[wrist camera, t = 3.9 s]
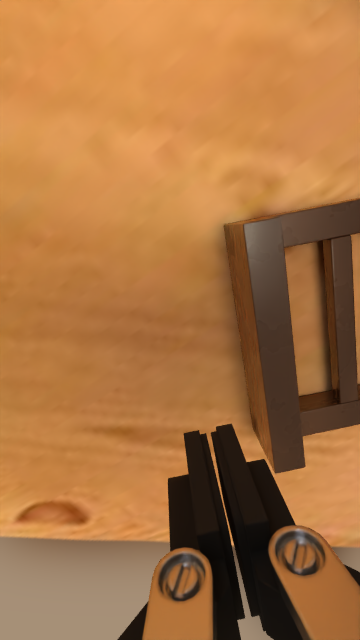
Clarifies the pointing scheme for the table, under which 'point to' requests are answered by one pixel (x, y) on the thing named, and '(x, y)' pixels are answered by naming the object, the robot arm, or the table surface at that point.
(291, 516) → the robot arm
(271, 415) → the plate rack
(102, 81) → the table surface
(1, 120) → the table surface
